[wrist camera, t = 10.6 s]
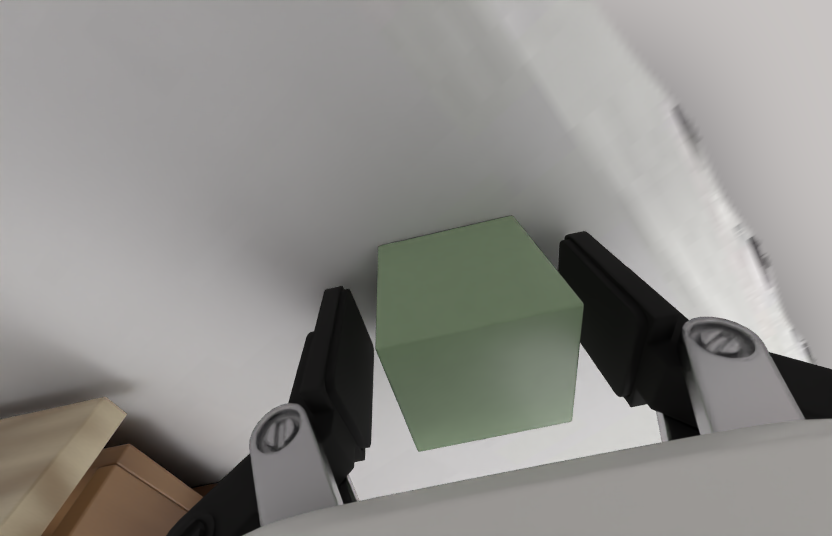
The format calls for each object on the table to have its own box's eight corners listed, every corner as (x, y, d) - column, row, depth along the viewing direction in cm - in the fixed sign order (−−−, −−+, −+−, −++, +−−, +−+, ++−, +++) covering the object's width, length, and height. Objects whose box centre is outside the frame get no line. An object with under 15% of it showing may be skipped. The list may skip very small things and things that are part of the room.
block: (377, 245, 10) (374, 349, 7) (512, 214, 10) (585, 303, 7) (407, 339, 13) (417, 453, 9) (517, 315, 13) (572, 422, 9)
